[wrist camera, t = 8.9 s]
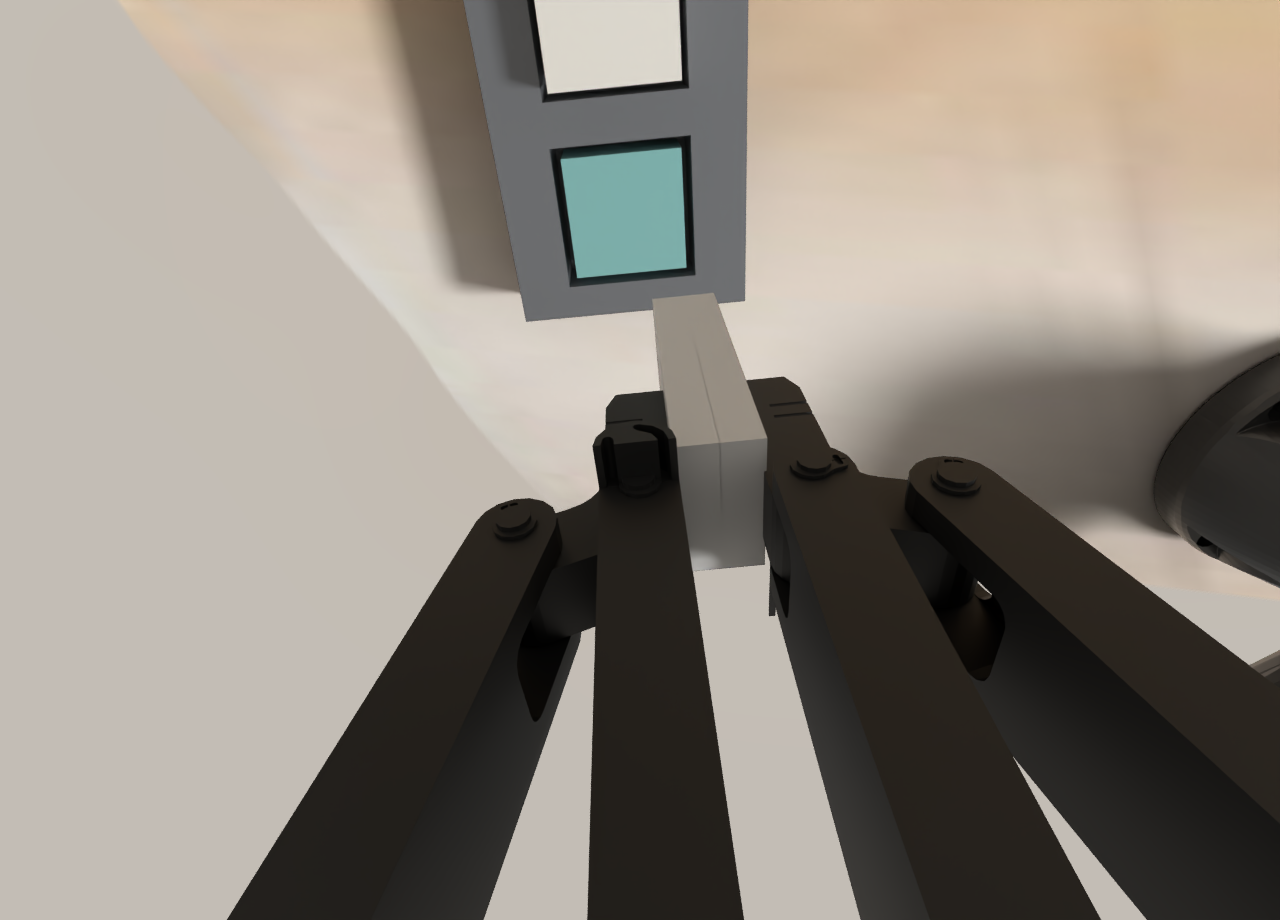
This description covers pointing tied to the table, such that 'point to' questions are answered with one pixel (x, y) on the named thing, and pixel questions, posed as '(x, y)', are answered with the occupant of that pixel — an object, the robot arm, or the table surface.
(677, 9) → the white key
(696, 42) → the keyboard
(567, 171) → the teal key
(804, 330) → the table surface
